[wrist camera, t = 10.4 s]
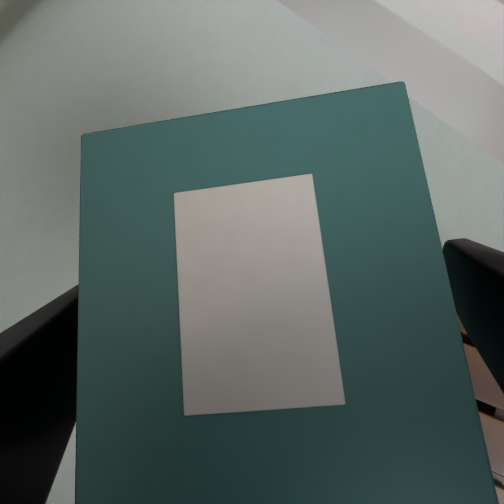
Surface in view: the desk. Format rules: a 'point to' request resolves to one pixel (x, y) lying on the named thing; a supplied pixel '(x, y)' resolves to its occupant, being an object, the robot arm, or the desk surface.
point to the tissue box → (270, 313)
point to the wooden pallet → (488, 410)
